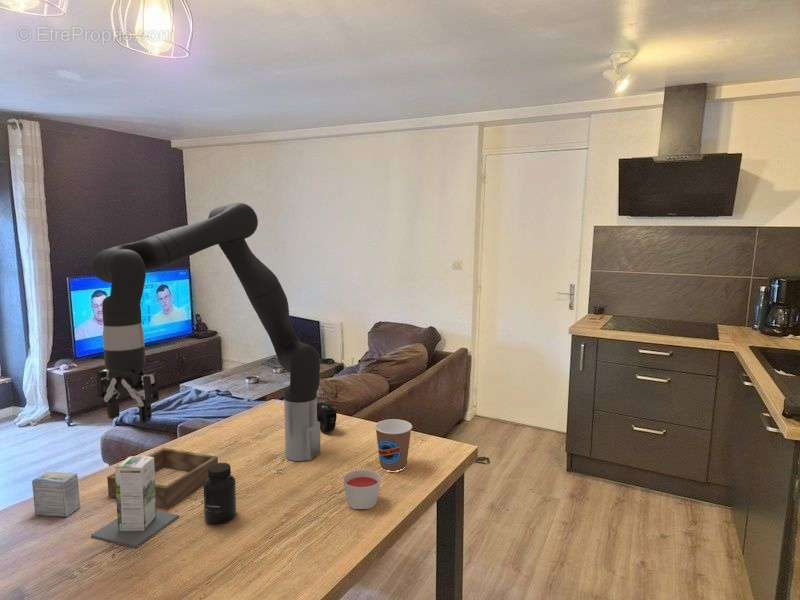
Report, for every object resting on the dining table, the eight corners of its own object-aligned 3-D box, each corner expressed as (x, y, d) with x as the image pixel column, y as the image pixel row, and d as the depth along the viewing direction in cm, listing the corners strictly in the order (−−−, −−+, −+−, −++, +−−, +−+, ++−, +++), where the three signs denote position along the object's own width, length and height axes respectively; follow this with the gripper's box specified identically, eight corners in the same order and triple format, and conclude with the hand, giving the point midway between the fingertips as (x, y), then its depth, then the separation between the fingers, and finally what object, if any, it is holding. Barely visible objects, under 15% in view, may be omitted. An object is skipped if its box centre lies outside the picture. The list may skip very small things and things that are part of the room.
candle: (364, 489, 125) (364, 465, 124) (388, 503, 119) (388, 478, 118) (335, 502, 119) (335, 477, 118) (359, 517, 112) (359, 491, 112)
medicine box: (81, 507, 116) (78, 472, 115) (66, 518, 112) (63, 481, 111) (50, 505, 117) (47, 470, 116) (34, 516, 113) (31, 480, 112)
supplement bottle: (206, 529, 108) (204, 476, 106) (202, 513, 114) (200, 464, 112) (239, 521, 111) (237, 470, 109) (234, 506, 117) (232, 458, 116)
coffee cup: (368, 471, 135) (368, 429, 133) (383, 456, 144) (383, 417, 143) (403, 479, 131) (403, 435, 129) (417, 462, 140) (417, 422, 139)
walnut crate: (218, 474, 133) (217, 456, 132) (167, 508, 116) (166, 488, 115) (164, 464, 138) (163, 447, 138) (108, 496, 121) (107, 476, 121)
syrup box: (131, 517, 111) (127, 455, 110) (157, 517, 111) (154, 455, 110) (117, 532, 106) (113, 467, 104) (145, 531, 106) (141, 467, 104)
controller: (326, 438, 157) (326, 407, 156) (311, 425, 168) (311, 397, 166) (339, 435, 160) (338, 405, 158) (323, 423, 170) (323, 395, 169)
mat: (178, 517, 112) (178, 515, 112) (135, 548, 101) (135, 545, 101) (137, 508, 116) (137, 506, 116) (91, 537, 105) (90, 534, 105)
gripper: (165, 343, 105) (169, 417, 107) (113, 339, 109) (118, 410, 111) (136, 351, 98) (141, 430, 100) (82, 346, 102) (88, 422, 104)
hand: (129, 419), depth 106 cm, fingers open, 8 cm apart
